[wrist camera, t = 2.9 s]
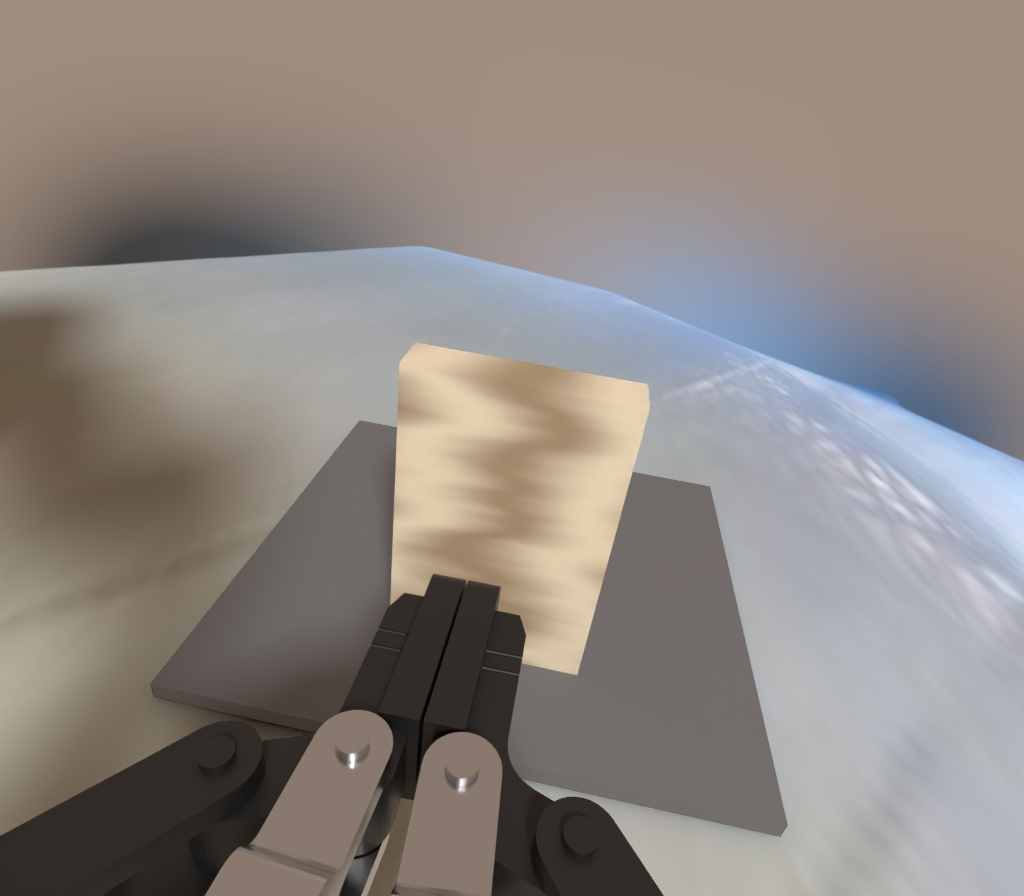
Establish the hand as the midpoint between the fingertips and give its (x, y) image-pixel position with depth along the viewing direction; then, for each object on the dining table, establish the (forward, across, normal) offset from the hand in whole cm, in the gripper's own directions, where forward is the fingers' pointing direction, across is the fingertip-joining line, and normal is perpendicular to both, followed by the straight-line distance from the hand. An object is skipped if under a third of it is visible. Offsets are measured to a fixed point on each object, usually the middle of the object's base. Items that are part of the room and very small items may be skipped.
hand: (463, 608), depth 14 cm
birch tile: (+11, 0, +13) cm, 17 cm away
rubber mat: (+17, 0, +14) cm, 22 cm away
